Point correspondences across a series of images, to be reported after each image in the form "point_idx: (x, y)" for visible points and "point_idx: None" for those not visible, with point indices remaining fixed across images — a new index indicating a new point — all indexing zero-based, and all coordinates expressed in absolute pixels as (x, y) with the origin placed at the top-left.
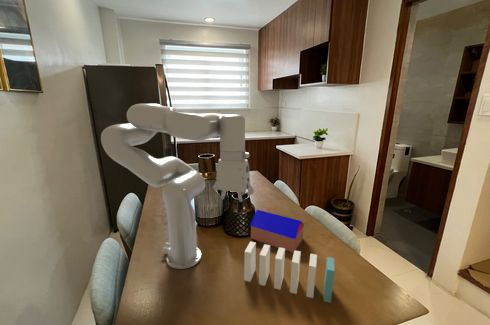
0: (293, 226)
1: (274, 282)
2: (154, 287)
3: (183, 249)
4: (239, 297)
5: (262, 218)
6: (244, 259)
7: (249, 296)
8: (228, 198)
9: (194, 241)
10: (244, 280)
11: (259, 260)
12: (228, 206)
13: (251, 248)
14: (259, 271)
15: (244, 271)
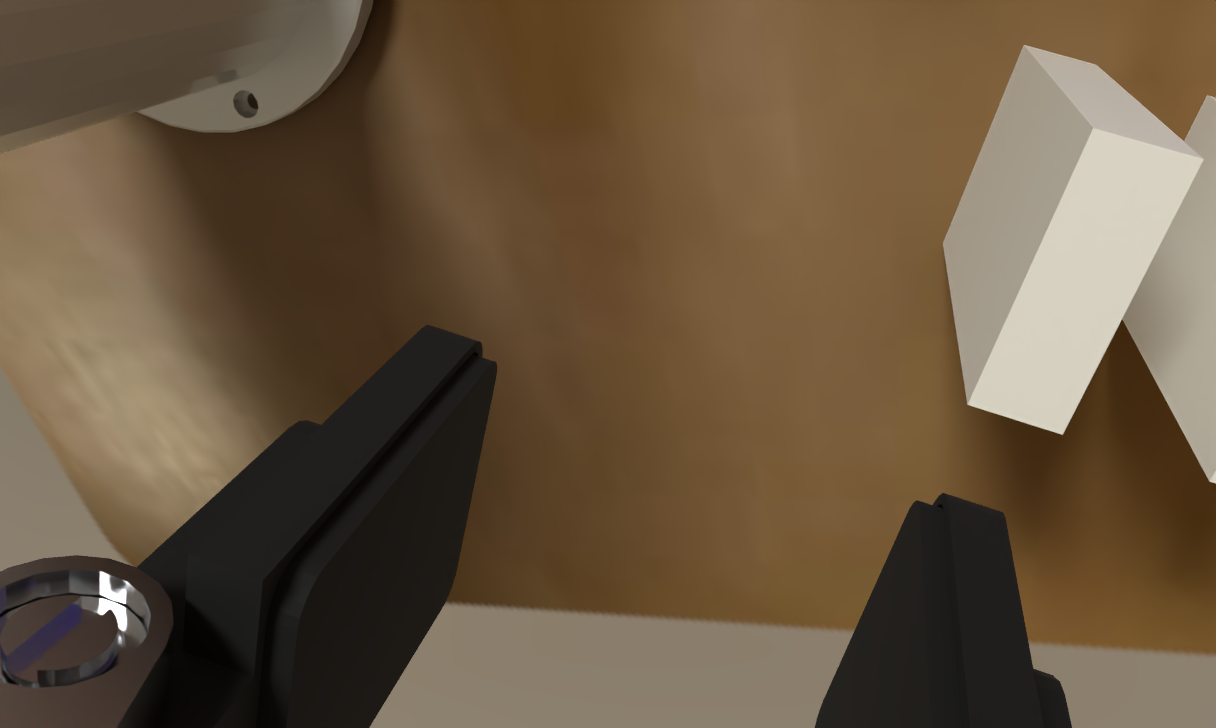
0: None
1: None
2: (159, 338)
3: (128, 113)
4: (890, 445)
5: None
6: (959, 350)
7: (987, 436)
8: (319, 634)
9: None
10: (943, 243)
11: (1184, 434)
12: (466, 446)
13: (1092, 331)
14: (1147, 360)
15: (949, 284)
